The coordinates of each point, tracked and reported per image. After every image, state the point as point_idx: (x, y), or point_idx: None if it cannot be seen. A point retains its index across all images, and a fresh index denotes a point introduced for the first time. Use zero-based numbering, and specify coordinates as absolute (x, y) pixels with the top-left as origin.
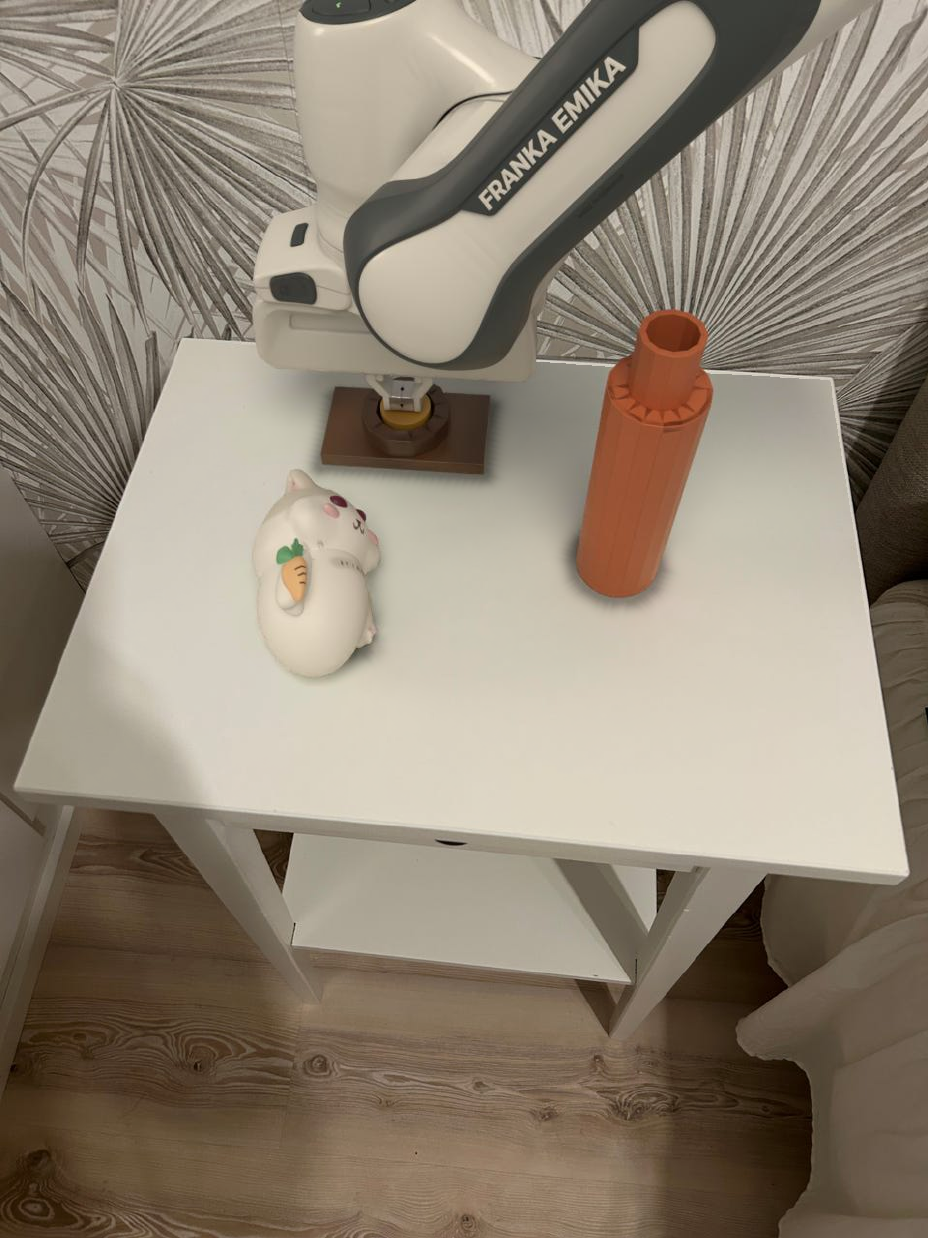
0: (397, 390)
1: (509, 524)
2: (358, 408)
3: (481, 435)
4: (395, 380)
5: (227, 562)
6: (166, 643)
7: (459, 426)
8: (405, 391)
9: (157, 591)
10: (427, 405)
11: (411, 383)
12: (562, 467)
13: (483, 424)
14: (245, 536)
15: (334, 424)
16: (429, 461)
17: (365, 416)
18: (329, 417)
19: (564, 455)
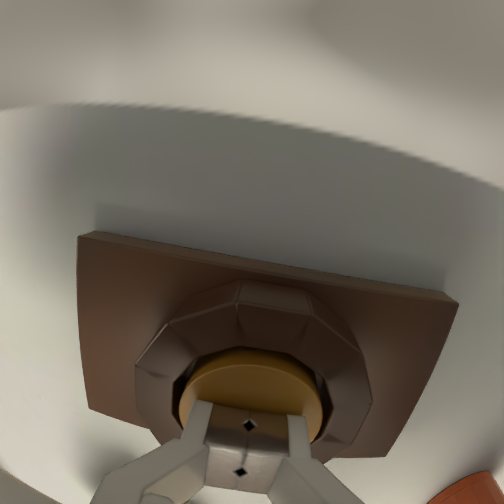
0: (224, 475)
1: (381, 489)
2: (134, 317)
3: (406, 407)
4: (216, 445)
5: (51, 466)
6: (47, 495)
7: (372, 389)
8: (250, 478)
9: (17, 461)
10: (312, 426)
11: (272, 460)
12: (482, 413)
13: (420, 385)
14: (52, 450)
15: (93, 352)
16: None
17: (147, 418)
18: (80, 332)
19: (495, 394)
